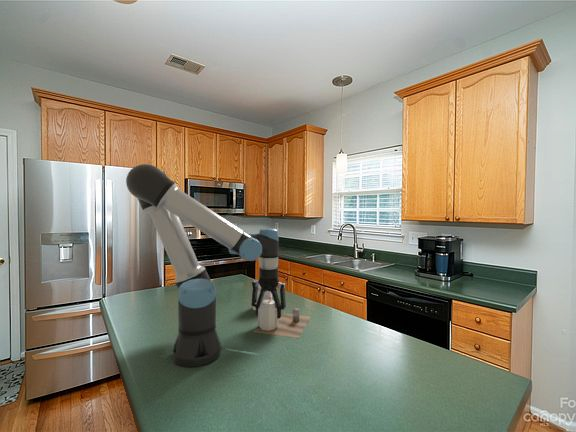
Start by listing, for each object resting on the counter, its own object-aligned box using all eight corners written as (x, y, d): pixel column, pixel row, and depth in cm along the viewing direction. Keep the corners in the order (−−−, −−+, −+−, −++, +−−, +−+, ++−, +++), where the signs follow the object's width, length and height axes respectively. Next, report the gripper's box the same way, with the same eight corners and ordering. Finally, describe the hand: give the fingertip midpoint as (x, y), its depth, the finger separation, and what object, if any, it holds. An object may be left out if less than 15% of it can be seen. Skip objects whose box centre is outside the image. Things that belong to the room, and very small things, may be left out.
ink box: (272, 308, 136) (272, 277, 135) (270, 312, 131) (270, 280, 130) (254, 307, 136) (254, 277, 136) (252, 311, 132) (252, 279, 131)
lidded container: (273, 331, 109) (273, 305, 108) (257, 329, 110) (258, 303, 110) (278, 324, 115) (278, 300, 114) (263, 322, 116) (263, 298, 116)
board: (298, 339, 103) (298, 324, 103) (253, 333, 108) (253, 318, 108) (310, 317, 124) (311, 305, 124) (272, 313, 129) (272, 301, 129)
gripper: (294, 267, 113) (294, 324, 113) (250, 264, 118) (249, 318, 119) (289, 271, 106) (289, 331, 106) (242, 267, 111) (242, 325, 112)
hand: (268, 324), depth 113 cm, fingers closed on lidded container, 6 cm apart
